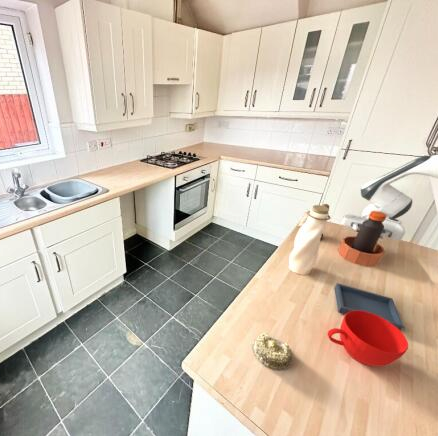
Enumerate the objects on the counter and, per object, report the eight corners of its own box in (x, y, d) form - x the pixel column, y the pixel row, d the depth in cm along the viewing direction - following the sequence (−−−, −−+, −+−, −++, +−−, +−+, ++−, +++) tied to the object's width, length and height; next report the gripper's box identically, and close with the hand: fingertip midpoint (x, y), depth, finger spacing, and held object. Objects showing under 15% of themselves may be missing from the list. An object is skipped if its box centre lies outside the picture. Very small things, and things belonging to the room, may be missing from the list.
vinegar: (370, 253, 106) (391, 213, 96) (367, 260, 102) (389, 219, 92) (351, 247, 110) (369, 208, 101) (347, 254, 106) (366, 213, 96)
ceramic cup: (309, 329, 75) (319, 307, 70) (368, 334, 73) (383, 311, 69) (332, 372, 64) (347, 349, 59) (403, 379, 62) (423, 356, 57)
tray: (388, 303, 83) (392, 298, 82) (400, 332, 74) (404, 326, 73) (334, 288, 90) (336, 282, 89) (338, 312, 81) (341, 307, 79)
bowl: (374, 252, 109) (380, 241, 106) (381, 270, 98) (388, 258, 95) (336, 243, 115) (341, 233, 112) (340, 260, 104) (345, 248, 101)
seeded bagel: (289, 379, 63) (294, 368, 60) (248, 360, 68) (251, 349, 65) (292, 346, 70) (297, 335, 67) (255, 331, 75) (258, 320, 72)
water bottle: (279, 262, 103) (297, 203, 90) (294, 258, 106) (314, 199, 93) (300, 278, 95) (323, 215, 82) (316, 272, 98) (341, 211, 84)
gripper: (346, 208, 114) (341, 219, 105) (407, 222, 101) (406, 235, 92) (342, 220, 117) (336, 231, 108) (399, 235, 104) (398, 249, 95)
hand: (369, 233), depth 100 cm, fingers closed on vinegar, 6 cm apart
